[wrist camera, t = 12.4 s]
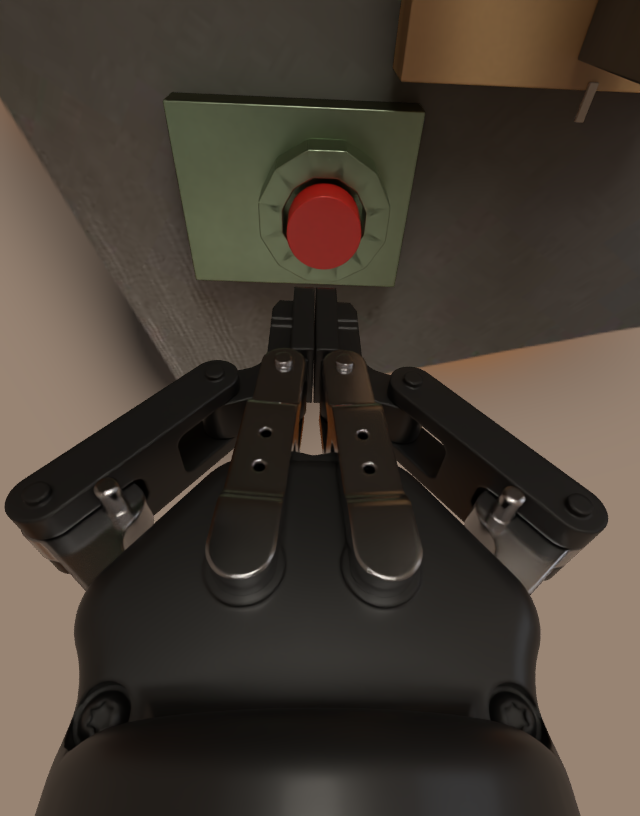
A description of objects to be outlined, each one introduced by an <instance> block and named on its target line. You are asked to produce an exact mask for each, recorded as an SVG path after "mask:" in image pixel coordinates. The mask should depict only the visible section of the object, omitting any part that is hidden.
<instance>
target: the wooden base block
mask: <svg viewBox="0 0 640 816" xmlns="http://www.w3.org/2000/svg"><path fill="white" fill-rule="evenodd" d="M597 3H598V0H401V6H400V14H399V22H398V30H397V38H396V46H395V54H394V62H393V70H394V71H395V73H396V74H397V76H398V77H399V79H400V81H401V82H415V83H437V84H458V85H480V86H501V87H523V88H544V89H566V90H586V92H585V94H584V97H583V99H582V102H581V104H580V107H579V109H578V112H577V115H576V117H575V120H574V122H582V123H583V122H584V119H585V117H586V114H587V112H588V109H589V107H590V104H591V102H592V99H593V97H594V94H595V92H596V91H609V92H631V93H640V84H637V83H635V82H632V81H630V80H627V79H625V78H622V77H620V76H617V75H615V74H612V73H610V72H607V71H605V70H602V69H600V68H597V67H594V66H592V65H589V64H587V63H584V62H582V61H579V60H578V57H579V54H580V51H581V48H582V45H583V43H584V40H585V37H586V34H587V31H588V28H589V26H590V23H591V20H592V17H593V14H594V12H595V9H596V6H597Z"/></svg>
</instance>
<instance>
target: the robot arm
mask: <svg viewBox="0 0 640 816" xmlns="http://www.w3.org/2000/svg"><path fill="white" fill-rule="evenodd" d="M313 364H314V403H320V416H319V425H320V435H321V444H322V453H323V454H321V455H308V454H304V453H300V446H301V439H302V431H303V423H304V415H305V412H306V402H310V403H311V402H312V385H313ZM422 426H423V427H424V428H425V429H426V430H428V431H429V432H430V433H431V434H433V435H434V436H435V437H436V438H437V439H439V440H440V441H441V442H442V444H443V445H442V444H441V443H440V442H439V441H437V440H436V439H435V438H434V437H432V436H431V435H430V434H429V433H428V432H426V431H425V430H424V429H423V428H422ZM232 449H234V451H233V455H232V459H231V461H230V462H227V463H225V464H223V465H222V466H220V467H218V468H217V469H215V470H214V471H212V472H211V473H210V474H209V475H207V477H205V478H204V479H203V480H202V481H201V482H200V483H199V484H198V485H196V486H195V487H194V488H193V489H192V490H191V491H190V492H189V493H188V494H187V495H185V496H184V497H183V498H182V499H181V500H180V501H179V502H178V503H177V504H176V505H174V506H173V507H172V508H171V509H170V510H169V511H168V512H167V513H166V514H165V515H163V516H162V517H161V518H160V519H159V520H158V521H157V522H155V524H154V515H155V514H156V513H157V512H159V511H160V510H161V509H162V508H163V507H165V505H167V504H168V503H169V502H171V501H172V500H173V499H174V498H175V497H176V496H178V495H179V494H180V493H181V492H182V491H183V490H185V489H186V488H187V487H188V486H189V485H191V484H192V483H193V482H194V481H196V480H197V479H198V478H199V477H200V476H201V475H203V474H204V473H205V472H206V471H207V470H209V469H210V468H211V467H212V466H213V465H215V464H216V463H217V462H218V461H219V460H220V459H221V458H223V457H224V456H225V455H227V454H228V452H230V451H231V450H232ZM396 460H397V461H398V462H399V463H400V464H401V465H402V466H403V467H404V468H405V469H407V470H408V471H409V472H410V473H411V474H412V475H413V476H414V477H415V478H416V479H415V478H414V477H413V476H412V475H411V474H409V473H408V472H407V471H405V470H403V469H402V468H400V467H398V465H397V461H396ZM418 480H419V481H420V482H421V483H422V484H423V485H424V486H425V487H426V488H427V489H428V490H430V491H431V492H432V493H433V494H434V495H435V496H436V497H437V498H438V499H439V500H441V501H442V502H443V503H444V504H445V505H446V506H447V507H448V508H449V509H450V510H451V511H452V512H454V513H455V514H456V515H457V516H458V517H459V518H460V519H462V521H463V522H464V523H465V525H463V524H462V523H461V522H460V521H459V520H458V519H457V518H455V517H454V516H453V515H452V514H451V513H450V512H449V511H448V510H447V509H446V508H445V507H444V506H443V505H442V504H441V503H440V502H439V501H438V500H437V499H436V498H435V497H434V496H433V495H432V494H431V493H430V492H429V491H428V490H427V489H426V488H425V487H424V486H423V485H422V484H421V483H420V482H419V481H418ZM5 512H6V514H7V515H8V517H9V518H10V519H11V520H12V521H13V522H14V523H15V524H16V525H17V526H18V527H19V528H20V529H21V532H22V534H23V535H24V536H25V537H26V539H27V540H28V541H29V542H30V543H31V544H32V545H33V546H34V547H35V548H36V549H37V550H38V551H39V552H40V553H41V554H42V556H43V557H45V558H46V559H49V560H50V561H51V562H52V563H53V565H55V567H56V568H57V569H58V570H60V571H61V572H63V573H67V574H71V575H72V576H73V577H74V579H75V580H76V581H77V582H78V583H79V584H80V585H81V586H82V587H83V588H84V590H85V591H86V592H85V594H84V596H83V598H82V600H81V602H80V605H79V607H78V610H77V614H76V619H75V626H74V637H75V645H76V649H77V654H78V660H79V691H78V700H77V704H76V708H75V711H74V715H73V718H72V720H71V723H70V725H69V728H68V730H67V732H66V735H65V737H64V739H63V742H62V744H61V746H60V748H59V750H58V753H57V755H56V757H55V759H54V762H53V764H52V767H51V769H50V772H49V775H48V777H47V780H46V783H45V786H44V789H43V792H42V795H41V798H40V801H39V804H38V808H37V811H36V814H35V816H580V813H579V810H578V807H577V803H576V800H575V796H574V793H573V790H572V787H571V784H570V781H569V778H568V775H567V772H566V770H565V768H564V766H563V763H562V761H561V759H560V757H559V755H558V753H557V751H556V749H555V746H554V745H553V742H552V740H551V738H550V736H549V734H548V731H547V729H546V727H545V725H544V722H543V720H542V717H541V714H540V711H539V708H538V703H537V697H536V686H535V669H536V660H537V655H538V650H539V646H540V623H539V618H538V614H537V611H536V607H535V605H534V603H533V600H532V598H531V597H530V595H531V594H532V593H533V592H534V590H535V589H536V588H537V587H538V586H539V585H540V584H541V583H542V581H545V580H548V579H550V578H552V577H553V576H554V575H555V574H556V573H557V572H558V571H559V570H560V569H561V568H562V567H564V566H565V565H566V564H567V563H568V562H569V561H570V560H571V559H572V558H573V557H574V556H575V555H577V554H578V553H579V552H580V551H581V550H582V549H583V548H584V547H585V546H586V545H587V544H588V543H589V542H591V541H592V540H593V539H594V538H595V537H596V536H597V535H598V534H599V533H600V532H601V531H602V530H603V529H604V528H605V527H606V525H607V523H608V514H607V511H606V509H605V507H604V505H603V503H602V502H601V501H600V500H599V499H598V498H597V497H596V496H595V495H594V494H593V493H591V492H590V491H589V490H587V489H586V488H585V487H583V486H582V485H580V484H579V483H578V482H576V481H575V480H574V479H572V478H571V477H569V476H568V475H567V474H565V473H564V472H563V471H561V470H560V469H558V468H557V467H556V466H554V465H553V464H552V463H550V462H549V461H548V460H546V459H545V458H543V457H542V456H541V455H539V454H538V453H536V452H535V451H534V450H532V449H531V448H530V447H528V446H527V445H526V444H524V443H523V442H521V441H520V440H519V439H517V438H516V437H515V436H513V435H512V434H510V433H509V432H508V431H506V430H505V429H504V428H502V427H501V426H500V425H498V424H497V423H495V422H494V421H493V420H491V419H490V418H488V417H487V416H486V415H485V414H483V413H482V412H480V411H479V410H478V409H476V408H475V407H473V406H472V405H471V404H469V403H468V402H467V401H465V400H464V399H462V398H461V397H460V396H458V395H457V394H456V393H454V392H453V391H452V390H450V389H449V388H447V387H446V386H445V385H443V384H442V383H441V382H439V381H438V380H437V379H435V378H434V377H432V376H431V375H430V374H428V373H427V372H425V371H423V370H421V369H419V368H415V367H402V368H399V369H397V370H395V371H394V372H393V373H392V374H391V375H388V374H384V373H381V372H378V371H375V370H373V369H372V368H370V367H369V366H367V365H366V361H365V360H364V358H363V357H362V354H361V345H360V336H359V330H358V319H357V311H356V310H355V309H354V307H353V306H352V305H351V304H350V303H339V302H337V294H336V288H316V300H315V321H314V288H312V287H294V301H284V300H280V301H279V302H278V303H277V304H276V305H275V306H274V308H273V311H272V319H271V327H270V336H269V344H268V352H267V353H266V354H265V355H264V357H263V359H262V362H261V363H260V364H258V365H256V366H254V367H251V368H248V369H243V370H237V368H236V367H235V366H234V365H233V364H231V363H229V362H227V361H222V360H213V361H208V362H205V363H203V364H201V365H199V366H198V367H196V368H194V369H193V370H191V371H190V372H188V373H187V374H185V375H184V376H182V377H181V378H179V379H178V380H176V381H175V382H173V383H171V384H170V385H168V386H167V387H165V388H164V389H162V390H161V391H159V392H158V393H156V394H154V395H153V396H151V397H150V398H148V399H147V400H145V401H144V402H142V403H141V404H139V405H137V406H136V407H135V408H133V409H131V410H130V411H129V412H127V413H125V414H124V415H122V416H121V417H119V418H117V419H116V420H114V421H113V422H111V423H110V424H108V425H107V426H105V427H104V428H102V429H101V430H99V431H97V432H96V433H94V434H93V435H91V436H90V437H88V438H87V439H85V440H84V441H82V442H80V443H79V444H77V445H76V446H74V447H73V448H71V449H70V450H68V451H67V452H65V453H64V454H62V455H60V456H59V457H57V458H56V459H54V460H53V461H51V462H50V463H48V464H47V465H45V466H44V467H42V468H40V469H39V470H37V471H36V472H34V473H33V474H31V475H30V476H28V477H27V478H25V479H24V480H22V481H21V482H19V483H18V484H17V485H16V486H15V487H14V488H13V489H12V490H11V491H10V493H9V494H8V496H7V498H6V501H5Z"/></svg>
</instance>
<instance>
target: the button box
mask: <svg viewBox="0 0 640 816" xmlns="http://www.w3.org/2000/svg"><path fill="white" fill-rule="evenodd" d="M163 105H164V111H165V116H166V121H167V127H168V132H169V137H170V143H171V148H172V154H173V159H174V164H175V170H176V175H177V180H178V186H179V191H180V196H181V202H182V207H183V212H184V218H185V223H186V228H187V234H188V239H189V245H190V250H191V255H192V261H193V266H194V271H195V277H196V280H210V281H239V282H268V283H297V284H326V285H355V286H384V287H394V286H395V280H396V274H397V269H398V263H399V258H400V252H401V247H402V241H403V235H404V230H405V224H406V219H407V213H408V208H409V202H410V196H411V191H412V185H413V180H414V174H415V168H416V163H417V157H418V152H419V146H420V141H421V135H422V129H423V124H424V118H425V111H424V110H423V108H422V107H421V105H420V104H417V103H395V102H373V101H351V100H329V99H306V98H284V97H262V96H240V95H218V94H196V93H174V92H172V93H171V94H170V95H168V96H167V97H166V98H165V99H164V100H163ZM318 183H331V184H335V185H337V186H340V187H341V188H343V189H345V190H346V191H347V192H348V193H349V194H350V195H351V196H352V197H353V199H354V200H355V202H356V204H357V207H358V211H359V216H360V223H361V241H360V244H359V247H358V249H357V251H356V252H355V254H354V255H353V256H352V257H351V258H350V259H349V260H348V261H347V262H346V263H344V264H342V265H341V266H338V267H336V268H332V269H324V270H322V269H315V268H312V267H309V266H307V265H305V264H303V263H302V262H301V261H299V260H298V259H297V258H296V257H295V256H294V254H293V253H292V251H291V249H290V247H289V245H288V241H287V234H286V232H287V222H288V214H289V209H290V206H291V204H292V202H293V200H294V199H295V197H296V196H297V195H298V194H299V193H300V192H301V191H302V190H303V189H305V188H306V187H309V186H311V185H314V184H318Z"/></svg>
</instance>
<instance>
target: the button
mask: <svg viewBox="0 0 640 816" xmlns="http://www.w3.org/2000/svg"><path fill="white" fill-rule="evenodd" d="M286 234H287V241H288V245H289V247H290V249H291V251H292V253H293V254H294V256H295V257H296V258H297V259H298V260H299V261H301V262H302V263H303V264H305V265H307V266H309V267H312V268H315V269H322V270H324V269H332V268H336V267H338V266H341V265H342V264H344V263H346V262H347V261H348V260H349V259H350V258H351V257H352V256H353V255H354V254H355V252H356V251H357V249H358V247H359V244H360V241H361V223H360V216H359V211H358V207H357V204H356V202H355V200H354V199H353V197H352V196H351V195H350V194H349V193H348V192H347V191H346V190H345V189H343V188H341V187H340V186H337V185H335V184H331V183H318V184H314V185H311V186H309V187H306V188H305V189H303V190H302V191H301V192H300V193H299V194H298V195H297V196H296V197H295V199H294V200H293V202H292V204H291V206H290V209H289V214H288V222H287V232H286Z"/></svg>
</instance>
